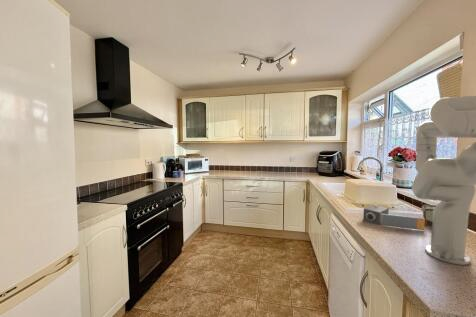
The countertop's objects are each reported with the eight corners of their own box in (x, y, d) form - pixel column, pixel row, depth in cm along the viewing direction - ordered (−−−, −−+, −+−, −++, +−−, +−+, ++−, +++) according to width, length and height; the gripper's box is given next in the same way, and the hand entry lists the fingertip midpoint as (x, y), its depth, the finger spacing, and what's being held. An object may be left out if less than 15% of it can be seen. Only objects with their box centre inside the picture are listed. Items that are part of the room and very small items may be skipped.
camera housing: (377, 225, 111) (378, 212, 110) (362, 221, 118) (362, 208, 117) (387, 220, 119) (388, 207, 118) (372, 215, 125) (373, 203, 125)
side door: (380, 225, 111) (381, 213, 110) (379, 224, 112) (380, 213, 111) (424, 230, 104) (425, 218, 104) (423, 230, 105) (424, 217, 104)
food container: (438, 222, 115) (440, 204, 114) (448, 227, 109) (450, 208, 108) (414, 221, 117) (415, 204, 116) (423, 226, 111) (424, 207, 110)
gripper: (444, 148, 94) (442, 189, 95) (427, 149, 108) (425, 184, 109) (424, 148, 96) (422, 187, 97) (409, 149, 111) (407, 183, 111)
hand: (423, 185), depth 103 cm, fingers closed
